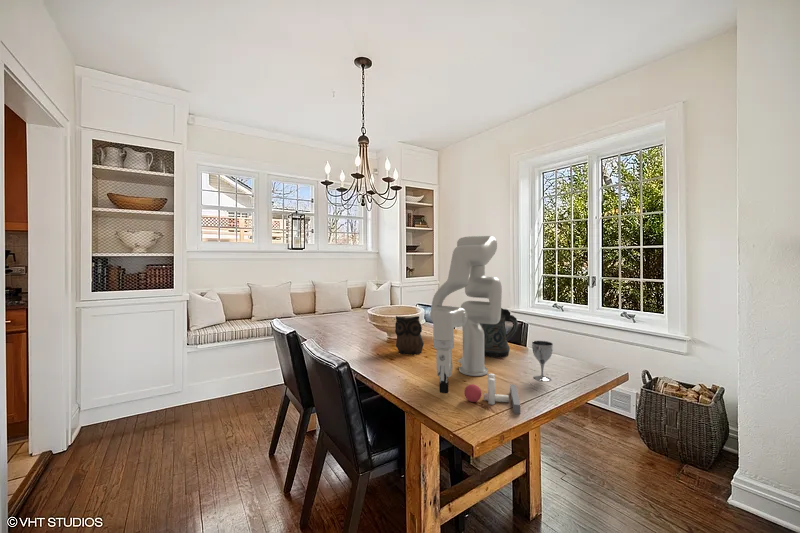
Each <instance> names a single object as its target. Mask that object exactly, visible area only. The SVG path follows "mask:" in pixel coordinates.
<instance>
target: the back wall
mask: <svg viewBox="0 0 800 533" xmlns="http://www.w3.org/2000/svg"><path fill="white" fill-rule="evenodd" d="M509 393H510V400H511V403H512V411H513V414H517V415H521V402H520V397H519V393H518V388H517V385H516V384H510V385H509Z"/></svg>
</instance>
